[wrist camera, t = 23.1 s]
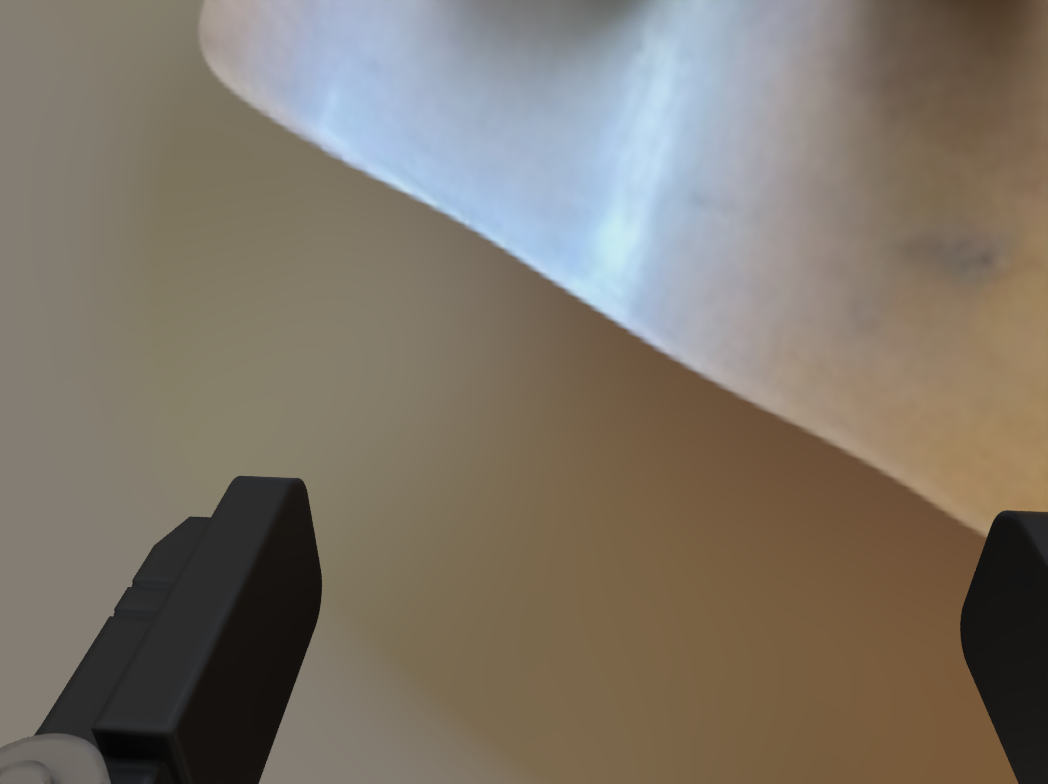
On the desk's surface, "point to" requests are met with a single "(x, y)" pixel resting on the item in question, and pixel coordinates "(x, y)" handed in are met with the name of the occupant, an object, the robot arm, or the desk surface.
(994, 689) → the robot arm
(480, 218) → the desk surface
